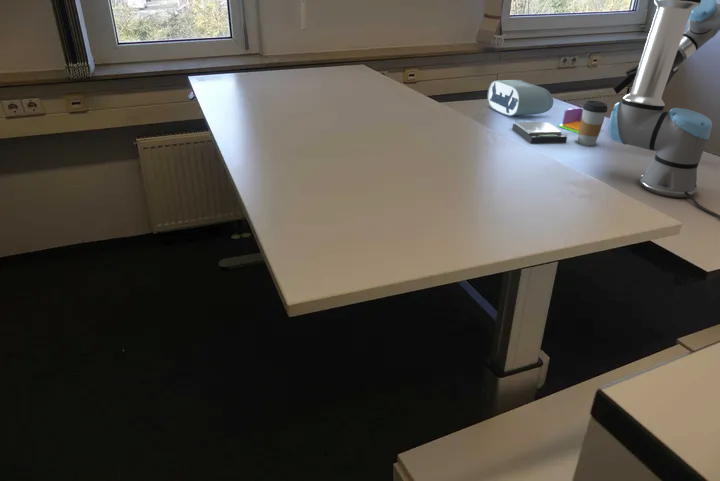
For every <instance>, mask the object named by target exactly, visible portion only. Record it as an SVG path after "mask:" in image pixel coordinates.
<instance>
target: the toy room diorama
mask: <svg viewBox="0 0 720 481" xmlns="http://www.w3.org/2000/svg"><path fill="white" fill-rule="evenodd" d="M582 113H583V107H575V108H569V109H565V110H564V113H563V117H562V122H561V123H559V124H558V127H559V128H562V129H565V130H568V131H571V132H573V133H576V134H579V129H580V123H581V118H582Z"/></svg>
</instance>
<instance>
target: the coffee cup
mask: <svg viewBox="0 0 720 481" xmlns="http://www.w3.org/2000/svg"><path fill="white" fill-rule="evenodd" d="M582 108H583V113H582V118H581V123H580V129H579V133H578V136H577V143H578V144H580V145H582V146H585V147H586V146H587V147H592V146H595V144H597V140H598V138H599V136H600V132H601V130H602V126H603V124H604V120H605V118H606V114H607V112H608V109H609V108H608V104H607V103H606V102H603V101H599V100H587V101H585V103H584V104H583V107H582Z"/></svg>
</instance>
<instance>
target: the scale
mask: <svg viewBox="0 0 720 481" xmlns="http://www.w3.org/2000/svg"><path fill="white" fill-rule="evenodd" d="M511 130H512V131H514V132H515V133H516V134H518V135H519V136H520V137H522V138H523V139H524V140H525V141H527V142H528V143H529V144H533V145H537V144H566V143H567V139H568V136H567V135H565V134H564V133H563V131H561V130H560V129H558V128H557V127H555V126H554V125H552V124H550V123H549V122H547V121H515V122H514V123H513V124H512V129H511Z"/></svg>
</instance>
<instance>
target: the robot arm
mask: <svg viewBox="0 0 720 481" xmlns="http://www.w3.org/2000/svg"><path fill="white" fill-rule="evenodd" d="M653 2H654V4H655V5H656V10H655V13H654V17H653V20H652V23H651V27H650V30H649V33H648V36H647V38H646V42H645V45H644V48H643V52H642V55H641V58H640V60H639V64H638V65H636V66H634V67H632V68H630V69H628V70H627V71H625V74H626V75H625V77H624V78H623V79H622V80H621V81H620V82H619V83H617V84H615V86H614V87H613V91H614V92H615V94H617V95H619V93H621V91H623V90H624V89H625V88H627V87H628V86H629V85H630V84H631V83H632V82H633V83H632V87H631V90H630V92H629V93H628V94H626V95H624V96H623V97H622V100H621V101H620V102H616V103H615V104H614V106H613V107H612V111H611V112H610V116H609V122H608V134H609V135H608V136H609V137H610V139H611V140H612V141H614V142H617V143H621V144H623V145H629V146H633V147H637V148H641V149H645V150H649V151H653V152H655V155H654V158H653V160H652V162H651V163H650V165H649V166H648V168H647V169H646V171H645V172H643V174H642V175H641V176H640V179H639V185H640V186H641V187H642V188H643V189H644V190H646V191H649V192H651V193H653V194H654V195H655V194H656V195H659V196H662V197H667V198H672V199H673V198H674V199H690V200H691V202H692V203H693V204H694V205H695V207H697V208H699V209H701V210H702V211H704V212H706V213H708V214H710V215H712V216H714V217H716V218H718V219H720V214H718V213H717V212H714V211H712V210H709V209H708V208H706V207H704V206H702V205H701V204H699V202H697V201H696V199H695V198H694V196H695V195H696V192H697V188H698V187H697V186H698V184H697V180H698V179H697V178H698V176H697V174H698V173H697V170H698V167H699V164H700V161H701V159H702V156H703V153H704V150H705V147H706V145H707V142H708V140H709V139H710V136H711V131H712V128H713V122H712V120H711V119H710V117H709V116H708V117H707V116H706V115H704V114H703V113H700V112H697V111H695V110H692V109H687V108H680V107H673V108H671V109H669V111H664V108H665V105H666V103H665V102H664V100H663V99H662V97H663V93H664V91H665V89H666V87H667V86H668V85H669V83H670V81H671V80H672V78H673V77H674V75H675V74H676V73H677V72H678V71H679V68H678V67H679V66H680V65H681V64H682V63H683V62H684V61H685V60H687V59H688V58H689V57H690V56H692V55H693V54H694V53H695V52H697V51H698V50H699V49H700V48H701V47H702V46H704V45H705V44H706V43H708V42H709V41H710V40H711V39H712V38H714V37H715V36H717V34H718V33H719V32H720V3H717V0H653ZM687 24H688V28H687V30H686V27H687ZM685 30H686V31H685Z"/></svg>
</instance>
